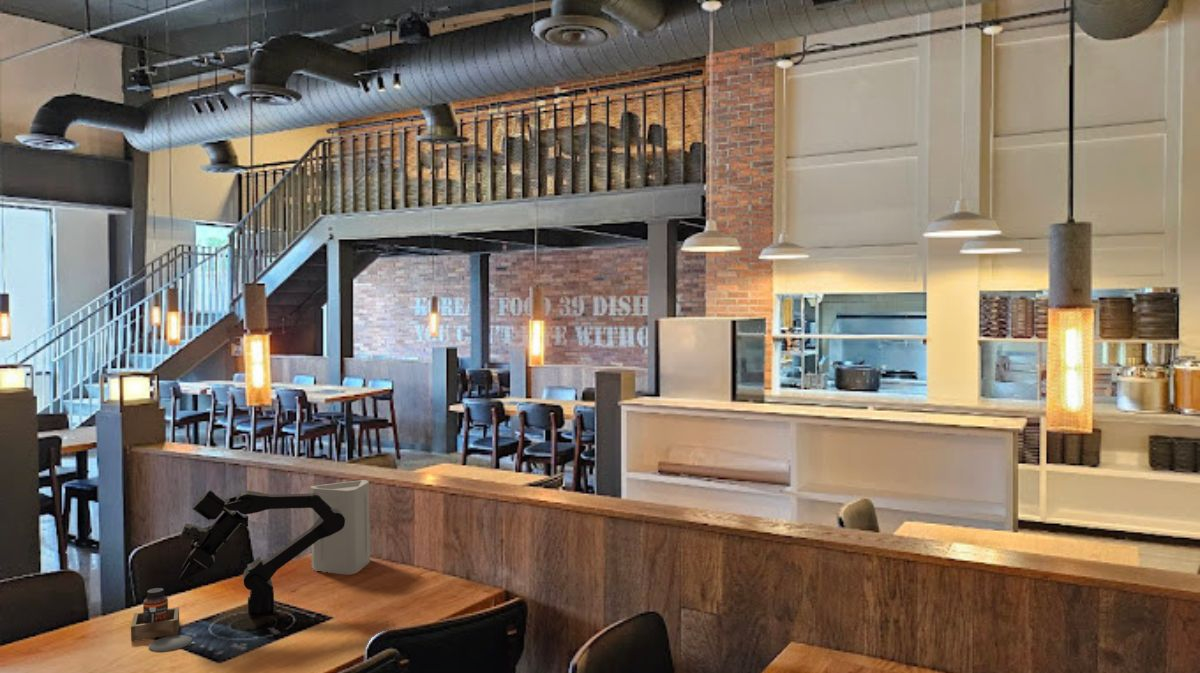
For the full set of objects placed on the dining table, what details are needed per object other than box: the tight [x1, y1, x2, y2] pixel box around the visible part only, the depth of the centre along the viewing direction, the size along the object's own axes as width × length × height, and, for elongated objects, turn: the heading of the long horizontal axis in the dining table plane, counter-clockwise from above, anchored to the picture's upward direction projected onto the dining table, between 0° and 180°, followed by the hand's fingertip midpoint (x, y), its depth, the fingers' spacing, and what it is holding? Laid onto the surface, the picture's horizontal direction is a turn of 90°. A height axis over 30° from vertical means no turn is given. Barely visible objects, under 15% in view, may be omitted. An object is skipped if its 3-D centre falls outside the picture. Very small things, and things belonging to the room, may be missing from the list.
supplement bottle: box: [142, 587, 169, 624], centre depth 225 cm, size 6×6×11 cm
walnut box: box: [130, 606, 180, 642], centre depth 225 cm, size 11×11×4 cm
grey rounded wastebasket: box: [309, 479, 371, 576], centre depth 280 cm, size 19×15×28 cm
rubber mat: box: [148, 634, 193, 653], centre depth 216 cm, size 10×10×1 cm
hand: (181, 575), depth 230 cm, fingers open, 9 cm apart
